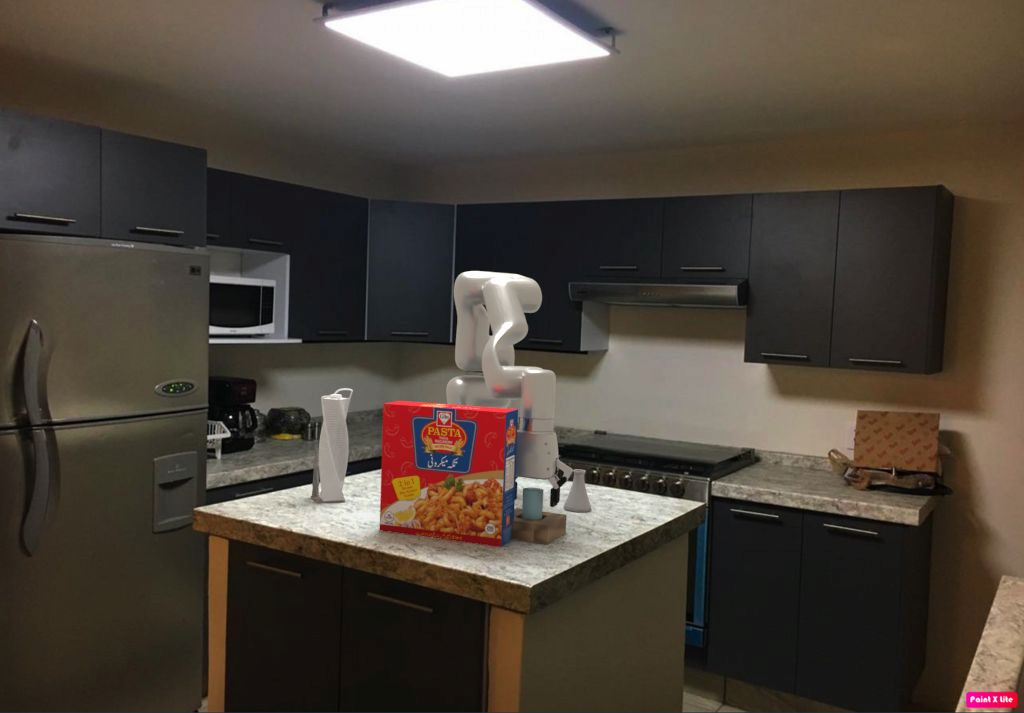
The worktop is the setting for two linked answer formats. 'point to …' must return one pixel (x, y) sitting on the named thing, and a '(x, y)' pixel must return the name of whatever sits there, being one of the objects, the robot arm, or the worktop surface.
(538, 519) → the teal peg
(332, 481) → the skyscraper
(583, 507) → the flask
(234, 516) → the worktop surface
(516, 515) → the walnut pocket block
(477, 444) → the pasta box
